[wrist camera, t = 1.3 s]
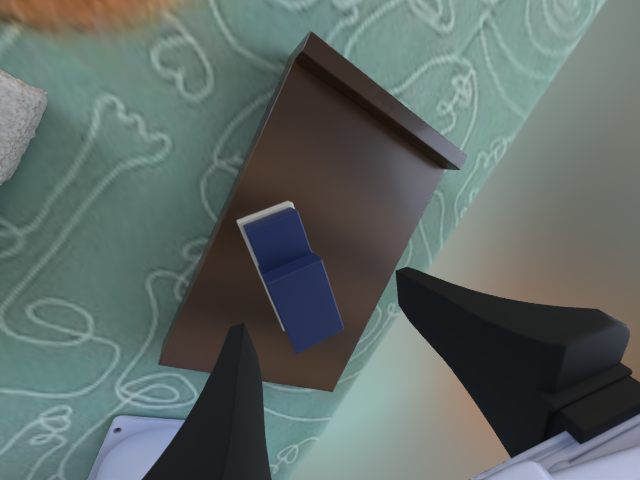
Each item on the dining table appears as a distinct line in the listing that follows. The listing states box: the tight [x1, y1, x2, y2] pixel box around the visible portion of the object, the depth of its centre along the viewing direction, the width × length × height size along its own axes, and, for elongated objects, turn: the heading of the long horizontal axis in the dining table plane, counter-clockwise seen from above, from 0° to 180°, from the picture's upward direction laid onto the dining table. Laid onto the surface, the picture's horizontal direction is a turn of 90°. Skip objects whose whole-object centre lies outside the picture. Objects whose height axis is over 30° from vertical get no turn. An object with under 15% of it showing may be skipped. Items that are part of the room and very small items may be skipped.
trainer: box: [237, 201, 344, 354], centre depth 18 cm, size 8×4×4 cm, turn 18°
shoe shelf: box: [158, 31, 467, 392], centre depth 21 cm, size 22×14×4 cm, turn 153°
